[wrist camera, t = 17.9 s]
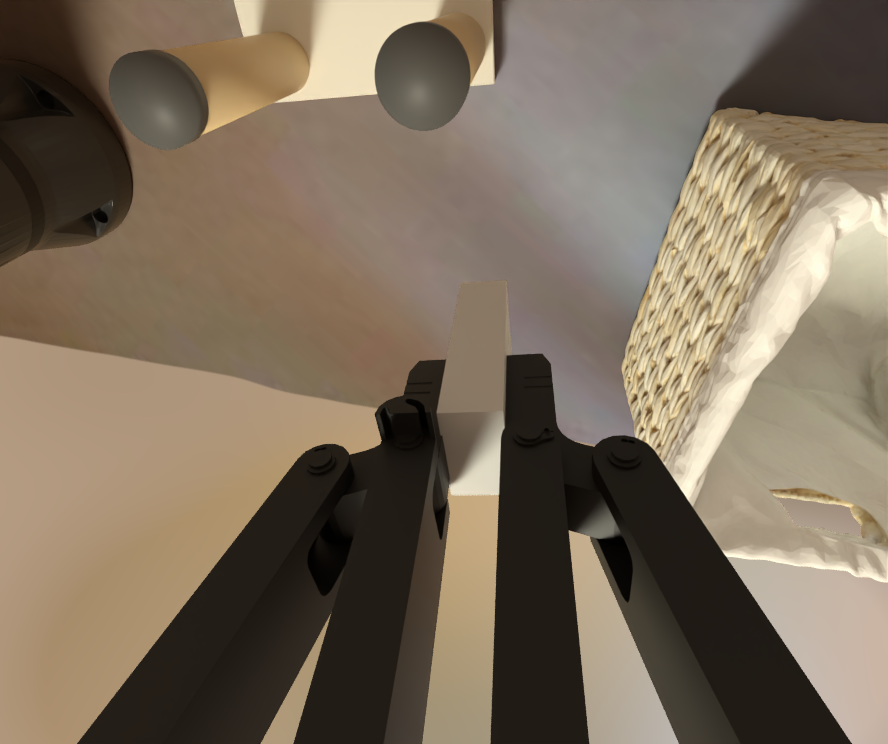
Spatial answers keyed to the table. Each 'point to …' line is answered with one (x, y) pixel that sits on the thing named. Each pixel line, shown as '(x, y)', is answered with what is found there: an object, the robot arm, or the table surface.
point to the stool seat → (311, 65)
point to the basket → (773, 338)
